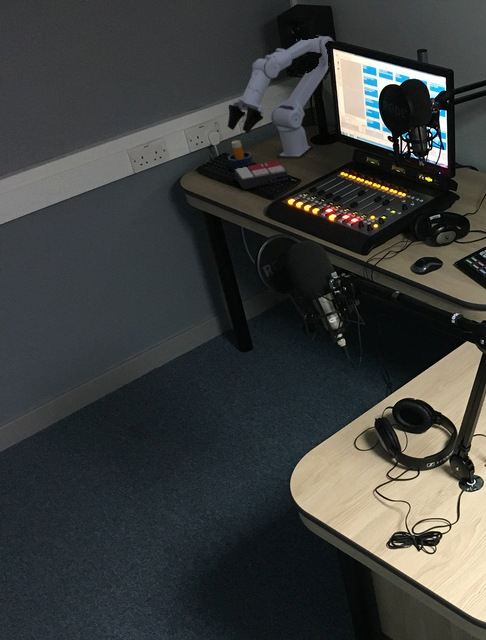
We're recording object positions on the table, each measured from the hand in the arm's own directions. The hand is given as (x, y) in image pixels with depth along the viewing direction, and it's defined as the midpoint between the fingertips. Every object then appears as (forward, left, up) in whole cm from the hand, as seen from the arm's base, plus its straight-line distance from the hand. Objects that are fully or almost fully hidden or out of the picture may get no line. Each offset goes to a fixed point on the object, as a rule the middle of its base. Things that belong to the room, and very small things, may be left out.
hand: (237, 129), depth 276 cm
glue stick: (-6, -5, -15) cm, 17 cm away
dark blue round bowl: (-6, -5, -15) cm, 17 cm away
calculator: (+5, +8, -15) cm, 18 cm away
